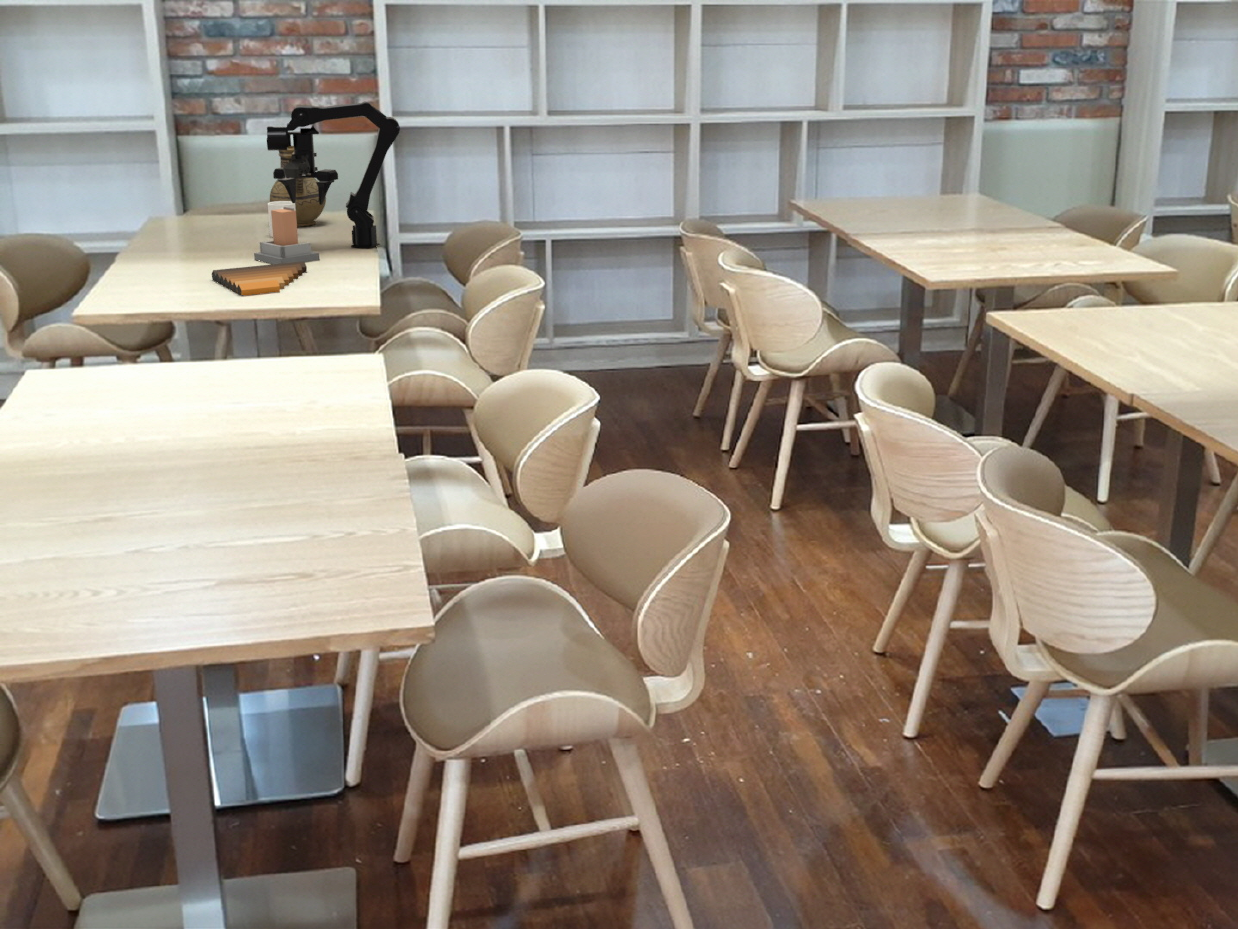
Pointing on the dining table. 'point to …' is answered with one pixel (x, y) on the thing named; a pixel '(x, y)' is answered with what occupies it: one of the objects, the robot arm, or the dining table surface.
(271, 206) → the mug
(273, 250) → the dock
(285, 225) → the peach block
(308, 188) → the decorative pitcher
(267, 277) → the pan flute
